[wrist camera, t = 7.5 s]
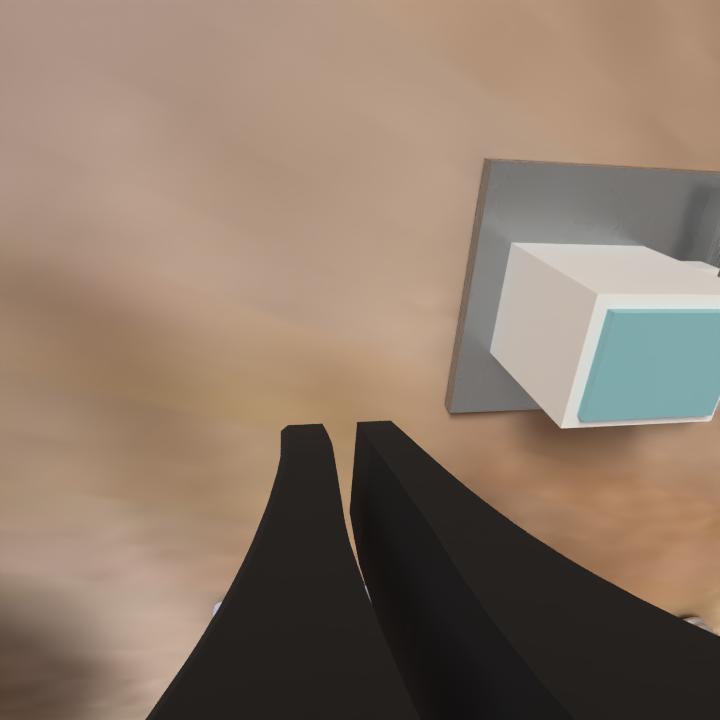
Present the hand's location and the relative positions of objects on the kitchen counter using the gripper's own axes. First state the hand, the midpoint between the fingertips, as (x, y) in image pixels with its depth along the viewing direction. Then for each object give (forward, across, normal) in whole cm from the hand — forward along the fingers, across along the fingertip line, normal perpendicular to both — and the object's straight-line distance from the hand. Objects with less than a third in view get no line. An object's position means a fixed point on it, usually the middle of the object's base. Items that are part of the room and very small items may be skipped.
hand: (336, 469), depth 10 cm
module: (+9, -10, 0) cm, 13 cm away
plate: (+9, -12, 0) cm, 15 cm away
